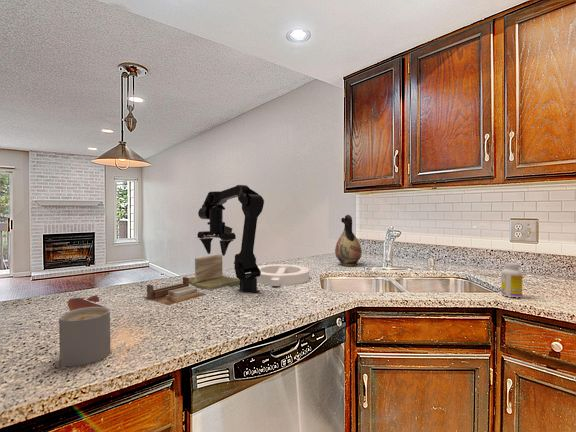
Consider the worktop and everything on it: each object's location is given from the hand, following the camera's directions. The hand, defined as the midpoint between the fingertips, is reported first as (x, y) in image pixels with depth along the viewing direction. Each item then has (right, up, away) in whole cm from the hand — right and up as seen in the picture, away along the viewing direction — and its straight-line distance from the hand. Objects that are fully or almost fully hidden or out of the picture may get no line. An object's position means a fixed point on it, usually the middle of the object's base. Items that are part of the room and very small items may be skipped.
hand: (216, 254), depth 146 cm
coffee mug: (-15, -15, -68) cm, 72 cm away
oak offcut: (-7, -13, -26) cm, 29 cm away
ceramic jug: (+68, -12, +47) cm, 83 cm away
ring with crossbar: (+28, -13, +11) cm, 33 cm away
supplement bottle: (+119, -14, -20) cm, 121 cm away
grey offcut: (-7, -11, -26) cm, 29 cm away
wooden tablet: (-37, -15, -34) cm, 52 cm away
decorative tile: (-2, -14, -2) cm, 14 cm away
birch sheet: (-2, -10, -3) cm, 11 cm away
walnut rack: (-10, -14, -23) cm, 29 cm away
